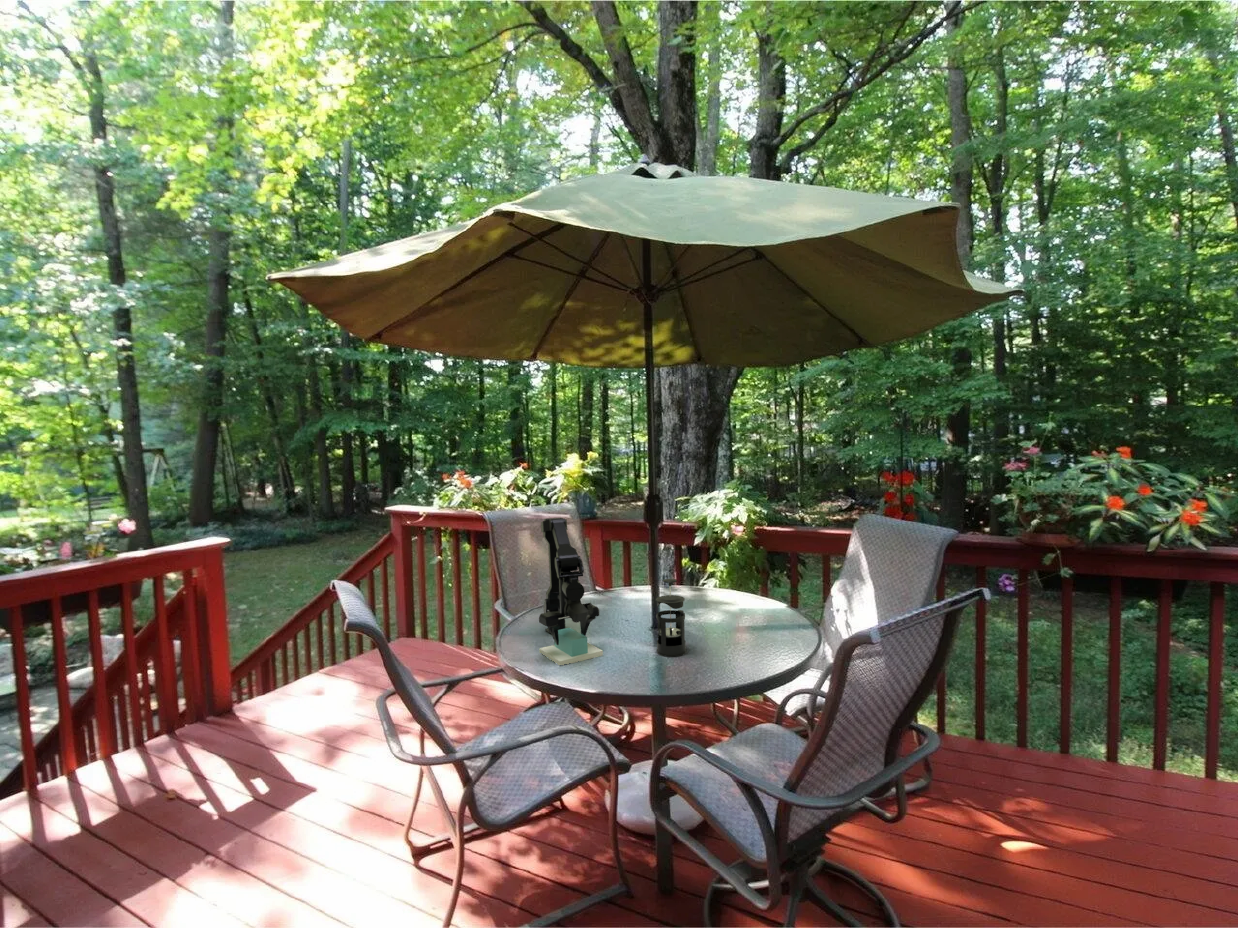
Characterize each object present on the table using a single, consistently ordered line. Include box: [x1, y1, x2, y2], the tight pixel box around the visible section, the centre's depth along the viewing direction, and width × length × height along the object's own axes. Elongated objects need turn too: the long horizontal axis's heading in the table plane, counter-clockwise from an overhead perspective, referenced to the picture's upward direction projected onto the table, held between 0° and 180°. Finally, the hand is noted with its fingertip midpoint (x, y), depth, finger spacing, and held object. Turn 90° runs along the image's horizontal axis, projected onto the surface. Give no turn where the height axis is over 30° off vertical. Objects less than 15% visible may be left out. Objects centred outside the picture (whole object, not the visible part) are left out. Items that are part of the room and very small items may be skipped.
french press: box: [655, 578, 688, 658], centre depth 208 cm, size 12×9×23 cm
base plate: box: [539, 641, 604, 666], centre depth 208 cm, size 14×15×2 cm
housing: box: [553, 627, 589, 657], centre depth 208 cm, size 6×12×5 cm, turn 32°
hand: (570, 641), depth 208 cm, fingers open, 9 cm apart
